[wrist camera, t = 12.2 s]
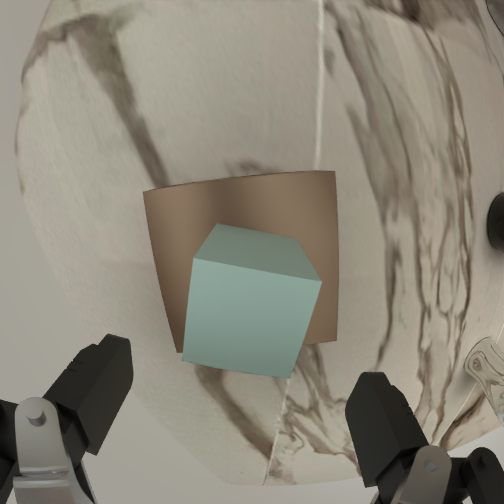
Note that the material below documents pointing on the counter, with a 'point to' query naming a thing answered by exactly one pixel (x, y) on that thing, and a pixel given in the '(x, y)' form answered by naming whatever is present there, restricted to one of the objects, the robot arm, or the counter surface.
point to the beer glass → (488, 373)
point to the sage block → (249, 302)
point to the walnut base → (248, 217)
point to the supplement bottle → (497, 223)
